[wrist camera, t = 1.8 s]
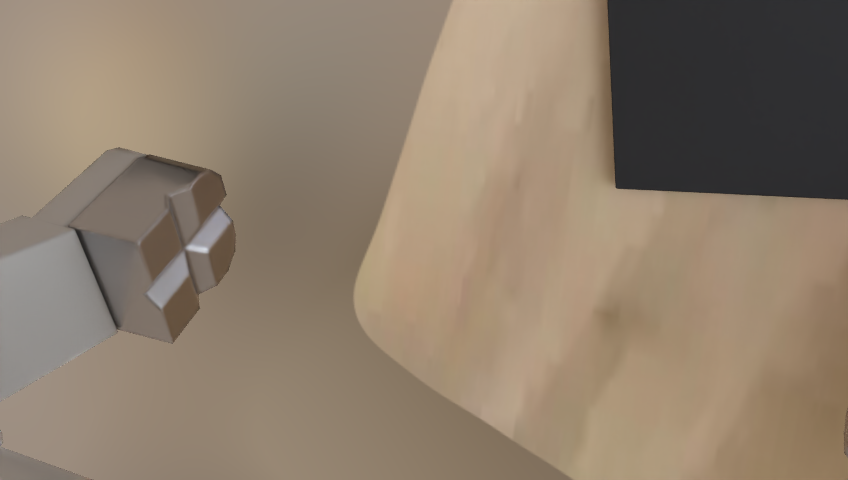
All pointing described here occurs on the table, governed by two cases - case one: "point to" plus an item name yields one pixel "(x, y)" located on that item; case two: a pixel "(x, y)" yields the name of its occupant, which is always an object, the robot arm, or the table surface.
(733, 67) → the desk mat
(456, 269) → the table surface
